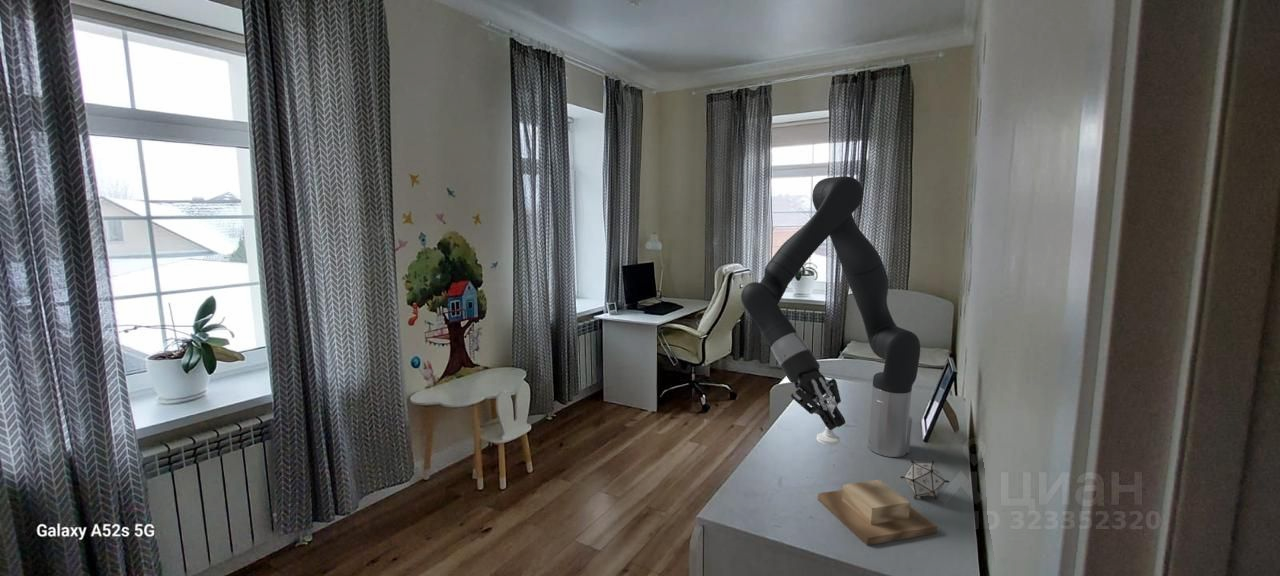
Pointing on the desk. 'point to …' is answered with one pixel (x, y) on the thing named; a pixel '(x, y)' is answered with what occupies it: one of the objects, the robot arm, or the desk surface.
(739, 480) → the desk surface
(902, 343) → the robot arm
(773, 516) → the desk surface
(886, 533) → the walnut base
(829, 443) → the chess piece
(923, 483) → the game die
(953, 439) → the desk surface
